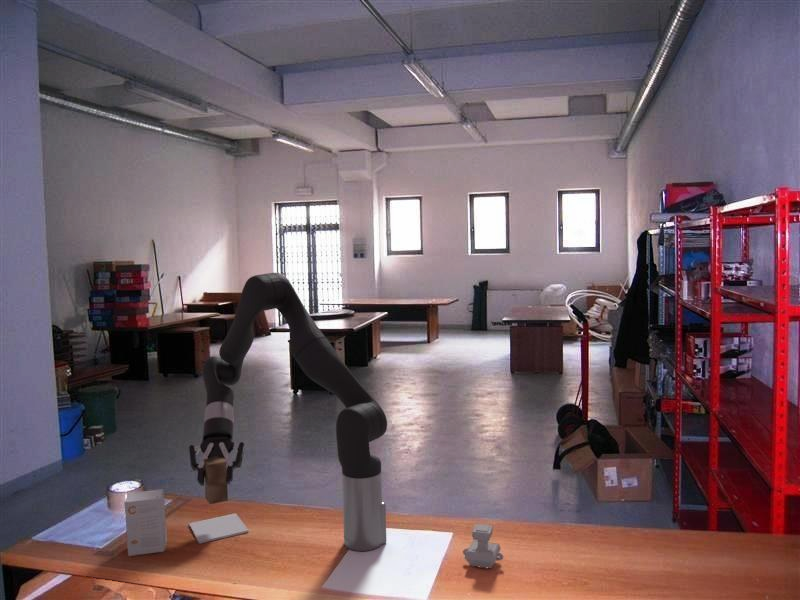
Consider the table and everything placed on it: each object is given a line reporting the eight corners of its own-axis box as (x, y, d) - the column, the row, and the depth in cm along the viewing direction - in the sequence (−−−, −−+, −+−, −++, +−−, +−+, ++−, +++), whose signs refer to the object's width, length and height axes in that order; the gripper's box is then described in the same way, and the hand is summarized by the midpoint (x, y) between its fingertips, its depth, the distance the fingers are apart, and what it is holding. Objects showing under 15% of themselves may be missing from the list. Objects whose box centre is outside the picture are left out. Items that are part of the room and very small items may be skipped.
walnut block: (223, 494, 168) (221, 456, 167) (227, 500, 164) (226, 461, 163) (205, 498, 165) (203, 459, 164) (209, 504, 161) (207, 464, 161)
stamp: (505, 560, 146) (505, 523, 145) (500, 574, 140) (500, 536, 139) (466, 554, 149) (465, 518, 148) (459, 568, 142) (458, 531, 142)
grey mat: (235, 515, 173) (235, 513, 173) (248, 532, 163) (248, 530, 163) (189, 525, 167) (188, 523, 167) (199, 543, 157) (199, 541, 157)
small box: (167, 540, 159) (164, 488, 158) (164, 552, 153) (161, 498, 152) (131, 544, 157) (128, 492, 156) (127, 557, 151) (124, 502, 150)
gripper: (188, 417, 169) (182, 479, 158) (245, 414, 171) (243, 475, 161) (192, 431, 175) (187, 492, 164) (247, 428, 177) (246, 488, 166)
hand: (215, 483), depth 162 cm, fingers closed on walnut block, 5 cm apart
